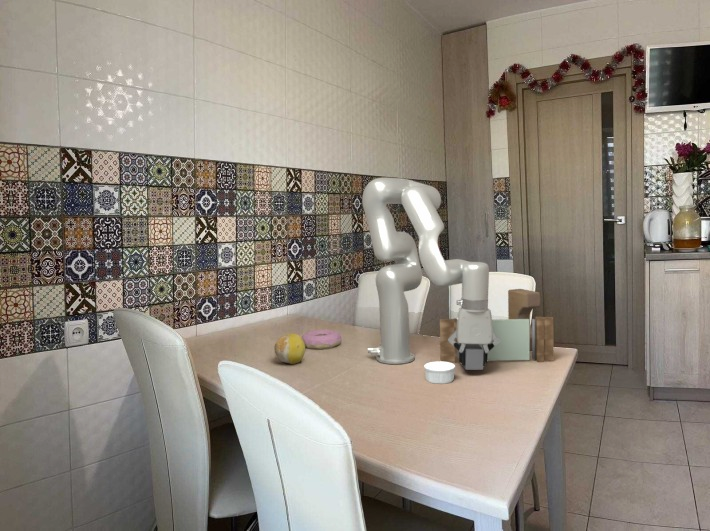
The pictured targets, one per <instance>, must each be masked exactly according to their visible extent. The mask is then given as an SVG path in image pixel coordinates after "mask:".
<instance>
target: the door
mask: <svg viewBox="0 0 710 531" xmlns="http://www.w3.org/2000/svg"><path fill="white" fill-rule="evenodd" d="M531 327H532V351H531V357H532V358H531V359H532V360H533V361H536V360H535V318H532V319H531ZM492 332H493V333H494V334H495V335H496V337H497V338H498V339H499V340H500V342H499V343H498V344H497V345H496V346H494V347H493V348H492V349H491V350H490V351H489V353H488V357H487V362H489V361H530V351H529V319H508V318H507V319H504V318H503V319H502V318H501V319H492ZM492 341H493V339H492ZM479 345H480V346H481V347H482V348H483V346H482V344H479ZM487 345H488V344H487Z"/></svg>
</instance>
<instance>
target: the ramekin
mask: <svg viewBox="0 0 710 531" xmlns="http://www.w3.org/2000/svg"><path fill="white" fill-rule="evenodd" d="M423 368H424V372H425V373H424V374H425V379H426V381H427V382H428V383H430V384H434V385H435V384H437V385H446V384H451V383H452V382H453V381H454V380H455V379H454V378H455V369H456V365H455V363H449V362H442V361H441V360H440V361H430V362H427V363H425V364H424V365H423Z"/></svg>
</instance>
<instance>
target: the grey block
mask: <svg viewBox="0 0 710 531" xmlns="http://www.w3.org/2000/svg"><path fill="white" fill-rule="evenodd" d="M457 343H458V344H460V343H459V342H458V341H457ZM464 352H465V366H463V368H464V369H465V370H469V371H472V370H476V371H477V370H484V367H483V352H484V350H483V348H482V347H481V346H480V345H479V344H466V345H465V348H464ZM457 357H458V359H459V351H458V350H457Z"/></svg>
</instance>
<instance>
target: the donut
mask: <svg viewBox="0 0 710 531" xmlns="http://www.w3.org/2000/svg"><path fill="white" fill-rule="evenodd" d="M300 337H301V338H302V339H303V341H304V344H305V348H306V349H309V350H327V349H332V348H334V347H337V346H339V345H340V344H341V343H342V340H343V339H342V334H341V333H340V332H338V331H337V330H332V329H315V330H314V329H313V330H309V331H307V332H305V333H304V334H303V335H302V336H300Z"/></svg>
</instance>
